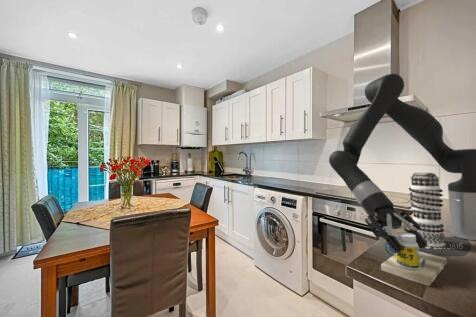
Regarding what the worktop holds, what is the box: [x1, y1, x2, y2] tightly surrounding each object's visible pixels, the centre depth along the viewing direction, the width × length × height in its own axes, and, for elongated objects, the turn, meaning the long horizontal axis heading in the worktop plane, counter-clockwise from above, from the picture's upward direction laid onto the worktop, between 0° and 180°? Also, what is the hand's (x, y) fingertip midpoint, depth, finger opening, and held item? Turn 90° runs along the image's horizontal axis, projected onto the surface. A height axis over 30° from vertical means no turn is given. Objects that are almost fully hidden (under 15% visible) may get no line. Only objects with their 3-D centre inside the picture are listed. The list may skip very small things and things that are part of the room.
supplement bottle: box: [395, 231, 420, 270], centre depth 56 cm, size 5×5×8 cm
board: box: [380, 251, 448, 287], centre depth 59 cm, size 18×10×2 cm, turn 126°
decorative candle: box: [408, 172, 446, 248], centre depth 76 cm, size 9×9×25 cm
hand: (412, 249), depth 55 cm, fingers open, 8 cm apart
